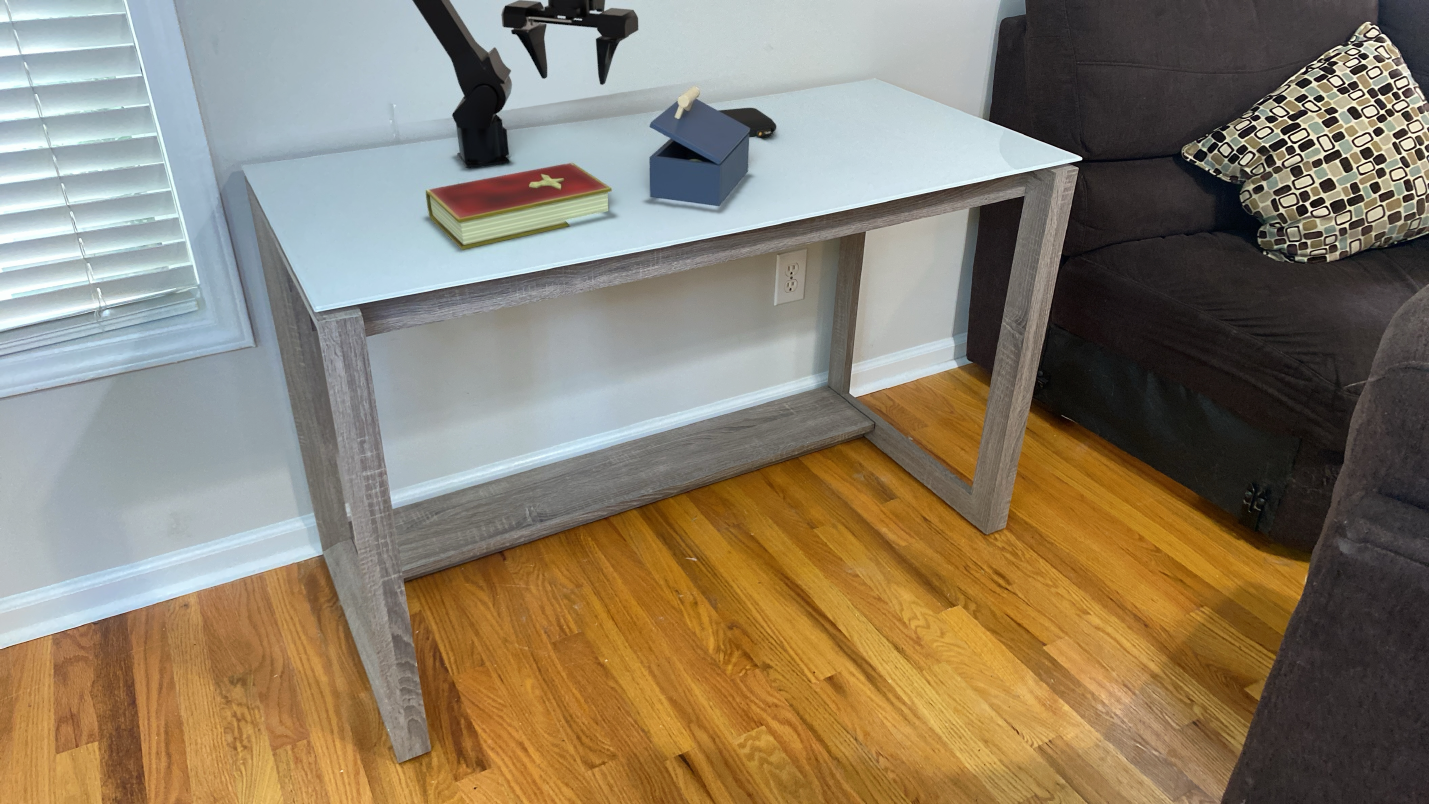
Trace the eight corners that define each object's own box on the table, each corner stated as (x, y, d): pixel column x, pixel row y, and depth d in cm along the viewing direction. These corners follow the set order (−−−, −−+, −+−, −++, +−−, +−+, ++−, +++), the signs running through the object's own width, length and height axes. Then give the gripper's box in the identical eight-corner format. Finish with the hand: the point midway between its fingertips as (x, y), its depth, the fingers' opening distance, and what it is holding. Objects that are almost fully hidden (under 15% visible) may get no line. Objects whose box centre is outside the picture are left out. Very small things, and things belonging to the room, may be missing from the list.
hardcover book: (429, 217, 127) (424, 186, 125) (572, 188, 137) (570, 159, 135) (462, 249, 119) (458, 217, 117) (612, 216, 129) (611, 186, 127)
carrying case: (699, 150, 152) (783, 140, 157) (699, 130, 151) (784, 122, 156) (675, 130, 161) (756, 121, 165) (675, 111, 159) (757, 104, 164)
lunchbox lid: (649, 127, 128) (659, 98, 125) (684, 98, 140) (695, 71, 137) (719, 165, 128) (731, 137, 125) (748, 133, 139) (760, 107, 137)
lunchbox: (650, 202, 134) (649, 157, 130) (683, 168, 145) (684, 126, 142) (718, 211, 131) (720, 165, 128) (747, 176, 143) (749, 133, 139)
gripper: (651, -40, 136) (652, 73, 145) (531, -48, 141) (539, 62, 149) (621, -27, 127) (625, 93, 136) (494, -37, 132) (505, 80, 140)
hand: (573, 81), depth 140 cm, fingers open, 9 cm apart
